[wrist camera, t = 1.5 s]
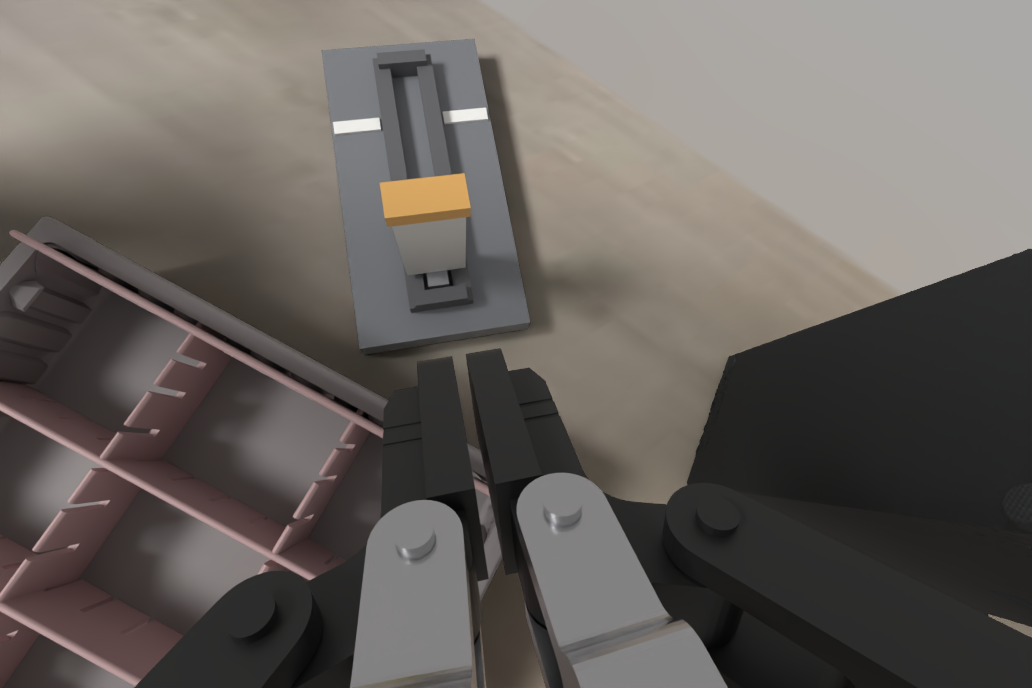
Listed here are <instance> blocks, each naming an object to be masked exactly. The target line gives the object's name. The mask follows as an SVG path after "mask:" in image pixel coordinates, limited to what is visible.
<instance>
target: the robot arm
mask: <svg viewBox="0 0 1032 688" xmlns="http://www.w3.org/2000/svg"><path fill="white" fill-rule="evenodd" d="M466 359H467V367H468V374H469V382H470V389H471V396H472V403H473V411H474V417H475V424H476V429H477V435H478V440H479V445H480V450H481V455H482V460H483V465H484V470H485V475H486V480H487V485H488V489H489V494H490V499H491V504H492V509H493V514H494V519H495V524H496V529H497V534H498V539H499V543H500V548H501V553H502V558H503V563H504V568H505V573H506V575H508V574H512V573H517V572H518V573H519V577H520V581H521V586H522V590H523V595H524V603H525V613H526V619H527V622H528V626H529V629H530V633H531V637H532V640H533V644H534V647H535V651H536V654H537V658H538V661H539V665H540V668H541V672H542V676H543V679H544V683H545V686H546V688H1032V638H1031V637H1029V636H1027V635H1025V634H1023V633H1021V632H1019V631H1017V630H1015V629H1013V628H1011V627H1009V626H1007V625H1005V624H1003V623H1001V622H999V621H997V620H995V619H993V618H991V617H989V616H987V615H985V614H983V613H980V612H978V611H976V610H974V609H972V608H970V607H968V606H966V605H964V604H962V603H960V602H958V601H956V600H954V599H952V598H950V597H948V596H946V595H944V594H942V593H940V592H938V591H936V590H934V589H932V588H930V587H928V586H926V585H924V584H922V583H920V582H918V581H916V580H914V579H912V578H910V577H908V576H906V575H904V574H902V573H900V572H898V571H896V570H894V569H892V568H890V567H888V566H886V565H884V564H882V563H880V562H878V561H876V560H874V559H872V558H870V557H868V556H866V555H864V554H862V553H860V552H858V551H856V550H854V549H852V548H850V547H848V546H846V545H844V544H842V543H840V542H838V541H836V540H834V539H832V538H830V537H828V536H826V535H824V534H822V533H820V532H817V531H815V530H813V529H811V528H809V527H807V526H805V525H803V524H801V523H799V522H797V521H795V520H793V519H791V518H789V517H787V516H785V515H783V514H781V513H779V512H777V511H775V510H773V509H771V508H769V507H767V506H765V505H763V504H761V503H759V502H757V501H755V500H753V499H751V498H749V497H747V496H745V495H743V494H741V493H739V492H737V491H735V490H733V489H730V488H728V487H725V486H722V485H718V484H712V483H695V484H691V485H687V486H685V487H682V488H680V489H679V490H677V491H676V492H675V493H674V494H673V495H672V496H671V498H670V499H669V501H668V504H667V505H666V504H653V503H641V502H631V501H625V500H621V499H617V498H615V497H612V496H610V495H608V494H606V493H604V492H602V491H601V490H600V488H599V487H598V486H597V485H595V484H594V483H593V482H592V481H590V480H589V479H588V478H587V477H586V475H585V474H584V472H583V470H582V467H581V465H580V463H579V460H578V458H577V455H576V453H575V451H574V448H573V446H572V444H571V441H570V439H569V436H568V434H567V432H566V429H565V427H564V425H563V422H562V420H561V417H560V416H559V414H558V410H557V408H556V406H555V403H554V402H553V400H552V396H551V394H550V391H549V389H548V387H547V384H546V382H545V380H543V379H542V378H541V377H540V376H539V375H537V374H536V373H535V372H534V371H532V370H531V369H530V368H525V369H519V370H513V371H508V369H507V366H506V363H505V360H504V357H503V354H502V351H501V349H493V350H487V351H481V352H475V353H469V354H466ZM417 371H418V386H419V387H413V388H407V389H401V390H395V391H394V392H393V394H392V396H391V397H390V399H389V401H388V402H387V404H386V406H385V408H384V414H383V430H384V432H383V454H382V495H381V516H380V520H379V521H378V523H377V524H376V525H375V527H374V528H373V530H372V531H371V533H370V536H369V538H368V542H367V544H366V545H365V546H364V547H363V548H362V549H361V550H360V551H359V552H358V553H357V554H355V555H354V556H353V557H351V558H350V559H349V560H347V561H345V562H344V563H342V564H340V565H338V566H337V567H335V568H333V569H331V570H329V571H327V572H325V573H323V574H321V575H319V576H317V577H315V578H313V579H311V580H309V581H307V582H305V581H304V580H303V579H302V578H301V577H300V576H298V575H297V574H294V573H291V572H287V571H269V572H264V573H261V574H258V575H255V576H252V577H250V578H248V579H246V580H244V581H242V582H241V583H239V584H237V585H236V586H234V587H233V588H232V589H230V590H229V591H228V592H226V593H225V594H224V595H223V596H222V597H221V598H220V599H219V600H218V601H217V602H216V603H215V604H214V605H213V606H212V607H211V608H210V609H209V610H208V611H207V612H206V613H205V614H204V615H203V617H202V618H201V619H200V620H199V621H198V622H197V623H196V624H195V625H194V626H193V627H192V628H191V629H190V630H189V631H188V632H187V633H186V634H185V635H184V636H183V637H182V638H181V639H180V640H179V641H178V642H177V643H176V644H175V646H174V647H173V648H172V649H171V650H170V651H169V652H168V653H167V654H166V655H165V656H164V657H163V658H162V659H161V660H160V661H159V662H158V663H157V664H156V665H155V666H154V667H153V668H152V669H151V670H150V671H149V672H148V673H147V674H146V676H145V677H144V678H143V679H142V680H141V681H140V682H139V683H138V684H137V685H136V686H135V687H134V688H486V678H485V666H484V655H483V644H482V632H481V623H482V607H481V601H480V594H479V587H478V581H482V580H487V579H489V577H488V570H487V564H486V557H485V551H484V544H483V537H482V531H481V524H480V518H479V511H478V504H477V498H476V491H475V485H474V479H473V474H472V468H471V462H470V456H469V451H468V445H467V439H466V434H465V428H464V422H463V416H462V411H461V405H460V399H459V394H458V388H457V382H456V376H455V371H454V365H453V359H452V356H451V357H445V358H439V359H432V360H426V361H420V362H417Z"/></svg>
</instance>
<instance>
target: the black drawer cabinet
mask: <svg viewBox="0 0 1032 688" xmlns="http://www.w3.org/2000/svg"><path fill="white" fill-rule="evenodd" d="M695 483H712V484H718V485H722V486H725V487H728V488H730V489H733V490H735V491H737V492H739V493H741V494H743V495H745V496H747V497H749V498H751V499H753V500H755V501H757V502H759V503H761V504H763V505H765V506H767V507H769V508H771V509H773V510H775V511H777V512H779V513H781V514H783V515H785V516H787V517H789V518H791V519H793V520H795V521H797V522H799V523H801V524H803V525H805V526H807V527H809V528H811V529H813V530H815V531H817V532H820V533H822V534H824V535H826V536H828V537H830V538H832V539H834V540H836V541H838V542H840V543H842V544H844V545H846V546H848V547H850V548H852V549H854V550H856V551H858V552H860V553H862V554H864V555H866V556H868V557H870V558H872V559H874V560H876V561H878V562H880V563H882V564H884V565H886V566H888V567H890V568H892V569H894V570H896V571H898V572H900V573H902V574H904V575H906V576H908V577H910V578H912V579H914V580H916V581H918V582H920V583H922V584H924V585H926V586H928V587H930V588H932V589H934V590H936V591H938V592H940V593H942V594H944V595H946V596H948V597H950V598H952V599H954V600H956V601H958V602H960V603H962V604H964V605H966V606H968V607H970V608H972V609H974V610H976V611H978V612H980V613H983V614H985V615H987V616H988V614H991V615H994V616H997V617H1001V618H1004V619H1008V620H1011V621H1014V622H1017V623H1021V624H1024V625H1027V626H1030V627H1032V249H1027V250H1025V251H1023V252H1020V253H1018V254H1014V255H1012V256H1010V257H1007V258H1004V259H1000V260H997V261H995V262H993V263H990V264H987V265H984V266H982V267H978V268H975V269H972V270H970V271H968V272H965V273H962V274H960V275H956V276H953V277H950V278H947V279H944V280H942V281H939V282H937V283H934V284H931V285H928V286H925V287H922V288H920V289H917V290H914V291H911V292H909V293H906V294H903V295H900V296H897V297H895V298H892V299H889V300H886V301H883V302H881V303H878V304H875V305H872V306H869V307H867V308H864V309H861V310H858V311H855V312H853V313H850V314H847V315H844V316H841V317H838V318H836V319H833V320H830V321H827V322H824V323H821V324H819V325H816V326H813V327H810V328H807V329H804V330H802V331H799V332H796V333H793V334H790V335H787V336H786V337H783V338H780V339H777V340H774V341H772V342H769V343H766V344H763V345H760V346H757V347H754V348H752V349H749V350H746V351H744V352H742V353H737V354H735V355H732V356H729V358H728V361H727V363H726V367H725V370H724V371H723V376H722V378H721V380H720V383H719V386H718V389H717V392H716V394H715V398H714V400H713V402H712V405H711V409H710V413H709V417H708V420H707V423H706V425H705V427H704V433H703V435H702V437H701V439H700V444H699V446H698V448H697V450H696V457H695V460H694V463H693V466H692V469H691V472H690V475H689V478H688V481H687V485H691V484H695Z"/></svg>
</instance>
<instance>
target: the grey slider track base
mask: <svg viewBox="0 0 1032 688" xmlns="http://www.w3.org/2000/svg"><path fill="white" fill-rule="evenodd" d="M322 58H323V66H324V74H325V82H326V89H327V97H328V105H329V113H330V121H331V129H332V137H333V145H334V152H335V160H336V168H337V176H338V184H339V192H340V200H341V208H342V215H343V223H344V231H345V239H346V247H347V255H348V263H349V271H350V279H351V286H352V294H353V302H354V310H355V318H356V326H357V334H358V342H359V349H360V350H361V351H362V352H363V353H364V354H365V355H366V354H372V353H378V352H385V351H391V350H397V349H404V348H410V347H416V346H423V345H429V344H435V343H442V342H448V341H454V340H461V339H467V338H474V337H480V336H486V335H493V334H499V333H505V332H512V331H518V330H524V329H527V328H528V326H529V324H530V318H529V313H528V308H527V303H526V298H525V292H524V287H523V282H522V277H521V272H520V267H519V262H518V257H517V252H516V247H515V242H514V237H513V232H512V227H511V221H510V216H509V211H508V206H507V201H506V196H505V191H504V186H503V181H502V176H501V171H500V166H499V161H498V156H497V150H496V145H495V140H494V135H493V130H492V125H491V120H490V115H489V110H488V105H487V100H486V95H485V90H484V85H483V79H482V74H481V69H480V64H479V59H478V54H477V49H476V44H475V39H465V40H451V41H438V42H425V43H412V44H398V45H385V46H372V47H359V48H345V49H332V50H322ZM462 173H465V179H466V184H467V190H468V196H469V201H470V207H471V216H470V217H466V268H459V269H452V270H447V274H448V280H449V287H443V288H436V289H429V286H428V280H427V273H423V274H415V275H408V276H407V273H406V270H405V266H404V263H403V260H402V257H401V254H400V250H399V247H398V244H397V241H396V238H395V234H394V231H393V228H392V227H387V224H386V221H385V217H384V210H383V203H382V196H381V189H380V183H381V182H390V181H399V180H408V179H417V178H426V177H435V176H444V175H453V174H462Z"/></svg>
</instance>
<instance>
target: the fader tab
mask: <svg viewBox="0 0 1032 688" xmlns="http://www.w3.org/2000/svg"><path fill="white" fill-rule="evenodd" d="M380 189H381V196H382V203H383V210H384V217H385V221H386V224H387V227H392V228H393V231H394V234H395V238H396V241H397V244H398V247H399V250H400V254H401V257H402V260H403V263H404V266H405V270H406V273H407V276H408V275H415V274H423V273H427V280H428V286H429V289H436V288H443V287H449V280H448V274H447V270H452V269H459V268H466V217H470V216H471V207H470V201H469V196H468V190H467V184H466V179H465V173H462V174H453V175H444V176H435V177H426V178H417V179H408V180H399V181H390V182H381V183H380Z"/></svg>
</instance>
